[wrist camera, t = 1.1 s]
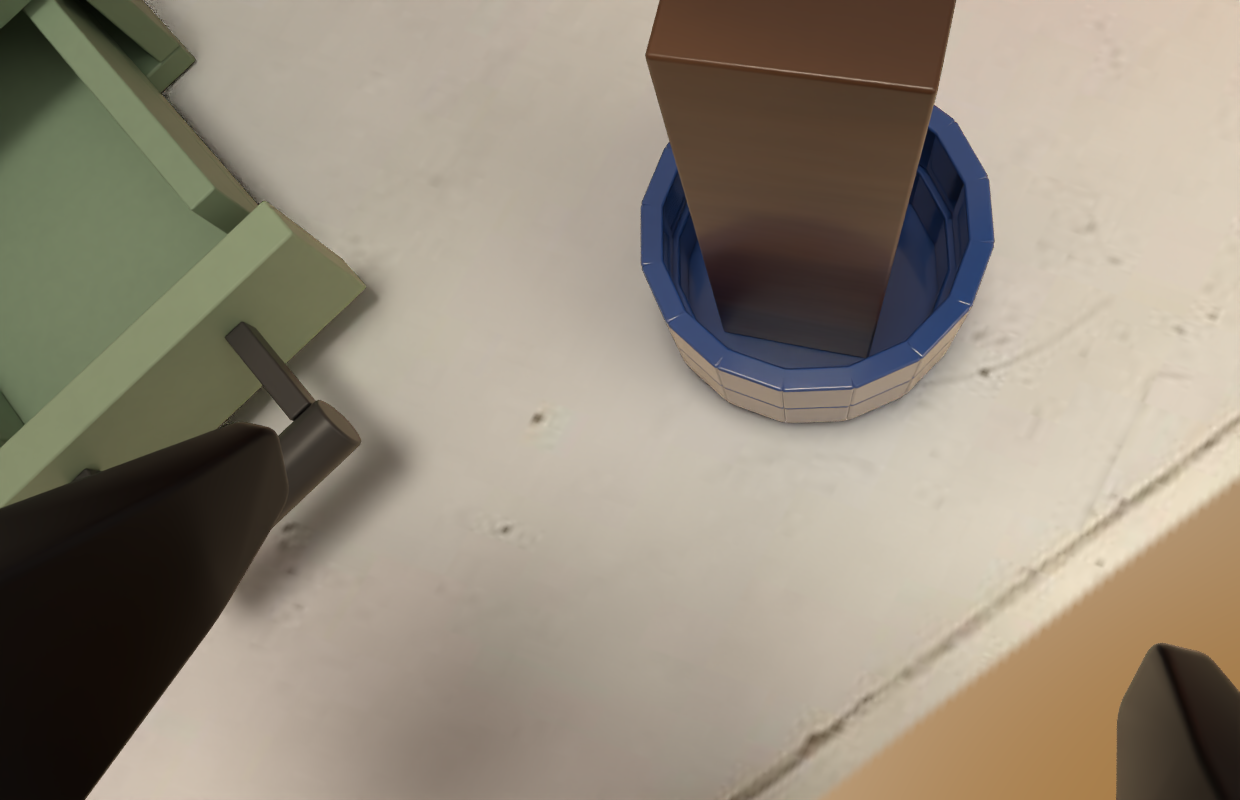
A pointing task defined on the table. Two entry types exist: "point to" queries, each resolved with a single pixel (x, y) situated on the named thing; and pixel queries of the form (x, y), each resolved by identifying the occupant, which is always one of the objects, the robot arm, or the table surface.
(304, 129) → the table surface
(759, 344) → the blue bowl
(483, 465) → the table surface
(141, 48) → the cabinet
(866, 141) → the walnut block
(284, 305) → the drawer
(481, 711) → the table surface
